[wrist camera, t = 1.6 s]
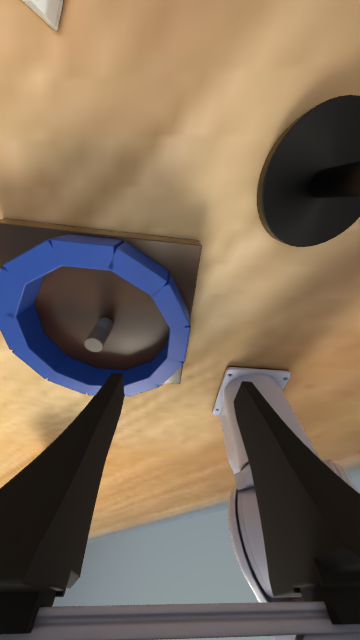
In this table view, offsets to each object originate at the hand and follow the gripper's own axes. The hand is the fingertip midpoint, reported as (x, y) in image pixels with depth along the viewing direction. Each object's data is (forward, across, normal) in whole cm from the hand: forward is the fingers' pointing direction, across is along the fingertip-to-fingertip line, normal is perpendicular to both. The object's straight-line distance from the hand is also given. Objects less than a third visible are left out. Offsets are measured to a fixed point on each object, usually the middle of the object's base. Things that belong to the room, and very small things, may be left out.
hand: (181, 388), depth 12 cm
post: (+9, -8, -12) cm, 17 cm away
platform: (+9, +7, 0) cm, 11 cm away
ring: (+7, +7, 0) cm, 9 cm away
